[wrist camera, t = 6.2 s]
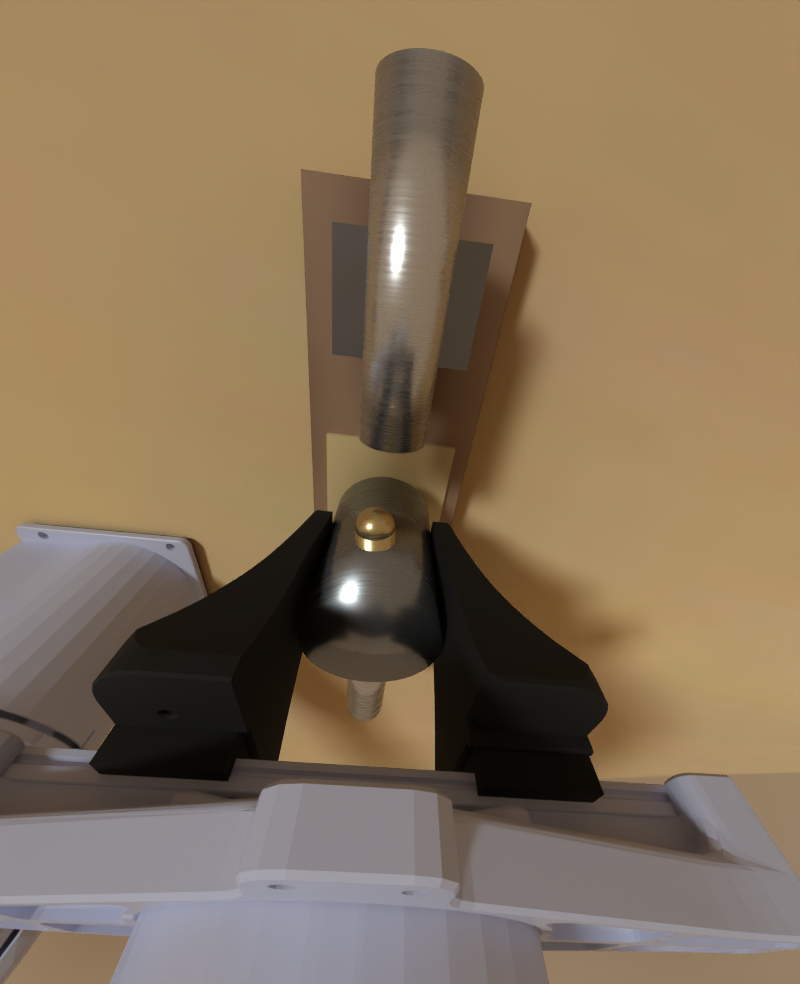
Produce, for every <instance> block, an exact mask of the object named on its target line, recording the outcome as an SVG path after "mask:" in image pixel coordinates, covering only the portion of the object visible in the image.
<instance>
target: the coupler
mask: <svg viewBox="0 0 800 984" xmlns="http://www.w3.org/2000/svg"><path fill="white" fill-rule="evenodd" d="M298 642H299V645H300V648H301V650H302V651H303V653H304V654H305V655H306V657H307V658H308V659H309V660H310V661H311V662H312V663H314V664H315V665H316V666H318V667H319V668H321V669H323V670H325V671H327V672H329V673H331V674H334V675H336V676H339V677H342V678H346V679H351V680H356V681H363V682H386V681H394V680H399V679H403V678H407V677H410V676H412V675H415V674H417V673H419V672H421V671H423V670H424V669H426V668H427V667H429V666H430V665H431V664H432V663H433V662H434V661H435V660H436V658H437V657H438V655H439V653H440V651H441V647H442V636H441V627H440V618H439V608H438V599H437V590H436V580H435V571H434V562H433V553H432V544H431V535H430V524H429V515H428V508H427V505H426V502H425V500H424V498H423V497H422V495H421V494H420V493H419V492H418V491H417V490H416V489H415V488H414V487H412V486H411V485H409V484H408V483H406V482H404V481H401V480H398V479H395V478H390V477H372V478H368V479H364V480H361V481H359V482H357V483H355V484H354V485H352V486H351V487H350V488H348V489H347V490H346V491H345V493H344V494H343V495H342V497H341V499H340V501H339V504H338V508H337V511H336V514H335V517H334V520H333V523H332V526H331V530H330V533H329V536H328V539H327V542H326V545H325V549H324V552H323V555H322V558H321V561H320V564H319V567H318V571H317V574H316V577H315V580H314V583H313V586H312V589H311V593H310V596H309V599H308V602H307V605H306V608H305V611H304V615H303V618H302V621H301V624H300V627H299V630H298Z"/></svg>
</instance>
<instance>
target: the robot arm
mask: <svg viewBox="0 0 800 984" xmlns="http://www.w3.org/2000/svg"><path fill="white" fill-rule="evenodd" d="M332 523H333V512H332V511H322V510H316V511H315V512H314V513H313V514H312V515H311V516H310V517H309V518H308V519H307V520H306V521H305V522H304V523H303V524H302V525H301V526H300V527H299V528H298V529H297V530H296V531H295V532H294V533H293V534H292V535H291V536H290V537H289V538H288V539H287V540H286V541H285V542H284V543H283V544H281V545H280V546H279V547H278V548H277V549H276V550H274V551H273V552H272V553H271V554H270V555H268V556H267V557H266V558H265V559H263V560H262V561H261V562H260V563H258V564H257V565H256V566H254V567H253V568H251V569H250V570H249V571H247V572H246V573H244V574H243V575H241V576H240V577H238V578H237V579H235V580H234V581H232V582H230V583H229V584H227V585H225V586H224V587H222V588H220V589H219V590H217V591H215V592H214V593H212V594H210V595H207V592H206V589H205V585H204V582H203V579H202V576H201V573H200V569H199V566H198V563H197V560H196V557H195V553H194V550H193V547H192V544H191V543H190V541H189V540H187V539H185V538H181V537H170V536H159V535H149V534H138V533H127V532H116V531H106V530H95V529H84V528H73V527H63V526H52V525H41V524H30V523H23V524H21V525H20V526H18V527H16V528H15V532H16V534H17V535H18V537H19V538H20V539H21V542H19V543H18V544H16V545H15V546H13V547H11V548H10V549H8V550H7V551H5V552H4V553H2V554H0V984H3V983H4V982H5V980H6V979H7V978H8V977H9V976H10V975H11V973H12V972H13V970H14V969H15V968H16V967H17V966H18V964H19V963H20V962H21V960H22V959H23V958H24V956H25V955H26V953H27V952H28V951H29V949H30V948H31V946H32V945H33V944H34V942H35V941H36V939H37V937H38V936H39V935H40V933H41V932H42V931H54V932H69V933H85V934H100V935H117V936H130V938H129V940H128V942H127V944H126V947H125V949H124V951H123V954H122V956H121V958H120V961H119V963H118V966H117V968H116V970H115V972H114V975H113V977H112V979H111V982H110V984H549V981H548V976H547V971H546V966H545V962H544V957H543V952H542V951H644V952H647V951H648V952H649V951H651V952H652V951H653V952H708V953H711V952H712V953H742V954H752V953H763V952H771V951H772V952H773V951H782V950H792V949H800V879H799V877H798V876H797V875H796V873H795V872H794V870H793V869H792V867H791V866H790V865H789V863H788V861H787V860H786V858H785V857H784V855H783V854H782V852H781V851H780V849H779V848H778V847H777V845H776V844H775V842H774V841H773V839H772V838H771V836H770V835H769V833H768V832H767V830H766V829H765V827H764V826H763V824H762V823H761V821H760V820H759V819H758V817H757V815H756V814H755V812H754V811H753V810H752V808H751V807H750V805H749V804H748V802H747V801H746V799H745V798H744V796H743V795H742V793H741V792H740V790H739V789H738V787H737V786H736V784H735V783H734V781H733V780H732V779H731V777H729V776H727V775H718V774H702V773H682V774H677V775H675V776H672V777H671V778H669V779H668V780H667V781H665V783H664V785H660V784H643V783H626V782H610V781H599V780H598V777H597V775H596V772H595V770H594V767H593V765H592V762H591V760H590V757H589V756H591V755H592V754H593V749H592V746H591V744H590V741H589V739H588V737H587V735H588V734H589V733H590V732H591V731H592V730H593V729H594V728H595V727H596V726H597V725H598V724H599V723H600V722H601V721H602V720H603V718H604V717H605V715H606V713H607V710H608V703H607V701H606V699H605V697H604V695H603V693H602V691H601V689H600V686H599V684H598V682H597V680H596V678H595V677H594V675H593V673H592V671H591V670H590V668H589V666H588V664H586V663H585V662H584V661H582V660H581V659H579V658H578V657H576V656H575V655H573V654H572V653H571V652H569V651H568V650H566V649H565V648H563V647H562V646H561V645H559V644H558V643H556V642H555V641H554V640H552V639H551V638H550V637H548V636H547V635H546V634H545V633H543V632H542V631H541V630H540V629H538V628H537V627H536V626H535V625H533V624H532V623H531V622H530V621H529V620H528V619H526V618H525V617H524V616H523V615H522V614H521V613H520V612H519V611H518V610H516V609H515V608H514V607H513V606H512V605H511V604H510V603H509V602H508V601H507V600H506V599H505V598H504V597H503V596H502V595H501V594H500V593H499V592H498V591H497V590H496V589H495V588H494V586H493V585H492V584H491V583H490V582H489V581H488V579H487V578H486V577H485V576H484V575H483V573H482V572H481V571H480V570H479V568H478V567H477V566H476V564H475V563H474V561H473V560H472V559H471V557H470V556H469V554H468V553H467V552H466V550H465V549H464V547H463V546H462V544H461V543H460V541H459V539H458V538H457V536H456V535H455V533H454V531H453V530H452V528H451V526H450V525H449V524H448V523H443V522H432V527H431V532H430V535H431V544H432V553H433V562H434V571H435V580H436V590H437V599H438V608H439V618H440V627H441V636H442V647H441V651H440V653H439V655H438V657H437V658H436V660H435V661H434V693H435V771H433V770H416V769H400V768H384V767H368V766H351V765H335V764H319V763H303V762H287V761H278V759H279V754H280V749H281V745H282V740H283V735H284V730H285V725H286V721H287V716H288V712H289V707H290V703H291V698H292V694H293V689H294V685H295V681H296V677H297V672H298V668H299V664H300V660H301V656H302V650H301V648H300V645H299V642H298V630H299V627H300V624H301V621H302V618H303V615H304V611H305V608H306V605H307V602H308V599H309V596H310V593H311V589H312V586H313V583H314V580H315V577H316V574H317V571H318V567H319V564H320V561H321V558H322V555H323V552H324V549H325V545H326V542H327V539H328V536H329V533H330V530H331V526H332ZM114 724H115V725H114ZM113 726H114V727H113ZM112 727H113V728H112ZM111 729H112V730H111ZM110 730H111V731H110ZM109 732H110V733H109ZM108 733H109V734H108ZM107 735H108V736H107ZM106 736H107V737H106ZM105 738H106V739H105ZM104 739H105V740H104ZM103 741H104V742H103ZM102 742H103V743H102ZM101 744H102V745H101ZM100 745H101V746H100ZM99 747H100V748H99ZM98 748H99V749H98Z"/></svg>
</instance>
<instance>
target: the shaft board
mask: <svg viewBox="0 0 800 984" xmlns="http://www.w3.org/2000/svg"><path fill="white" fill-rule="evenodd" d="M370 180H371V179H365V178H358V177H351V176H344V175H338V174H331V173H324V172H317V171H311V170H304V169H301V183H302V209H303V234H304V259H305V285H306V310H307V336H308V361H309V386H310V412H311V437H312V463H313V488H314V512H315V511H316V510H322V511H332V512H333V520H334V517H335V514H336V511H337V508H338V504H339V501H340V499H341V497H342V495H343V494H344V493H345V491H346V490H347V489H348V488H350V487H351V486H352V485H354V484H355V483H357V482H359V481H361V480H364V479H368V478H372V477H390V478H395V479H398V480H401V481H404V482H406V483H408V484H409V485H411V486H412V487H414V488H415V489H416V490H417V491H418V492H419V493H420V494H421V495H422V497H423V498H424V500H425V502H426V505H427V508H428V515H429V524H430V532H431V527H432V522H443V523H448V524H449V525H450V526H451V524H452V520H453V516H454V512H455V508H456V504H457V500H458V496H459V492H460V488H461V484H462V480H463V476H464V472H465V468H466V464H467V460H468V456H469V452H470V448H471V444H472V440H473V436H474V432H475V428H476V424H477V420H478V416H479V412H480V408H481V404H482V400H483V396H484V392H485V388H486V384H487V380H488V376H489V372H490V368H491V364H492V360H493V356H494V352H495V348H496V344H497V340H498V336H499V332H500V328H501V324H502V320H503V316H504V312H505V308H506V304H507V300H508V296H509V292H510V288H511V284H512V280H513V276H514V272H515V268H516V264H517V260H518V256H519V252H520V248H521V244H522V240H523V236H524V232H525V228H526V224H527V220H528V216H529V212H530V208H531V204H532V203H527V202H520V201H513V200H506V199H500V198H493V197H486V196H479V195H473V194H466V200H465V206H464V212H463V218H462V224H461V230H460V237H459V239H460V240H467V241H474V242H481V243H488V244H494V246H493V250H492V255H491V260H490V264H489V269H488V274H487V279H486V283H485V288H484V293H483V297H482V302H481V307H480V311H479V316H478V321H477V326H476V330H475V335H474V340H473V344H472V349H471V354H470V358H469V363H468V368H467V371H464V370H456V369H448V368H439V367H438V369H437V375H436V381H435V387H434V393H433V399H432V406H431V412H430V418H429V424H428V430H427V436H426V442H425V446H424V447H423V448H422V449H420V450H418V451H415V452H411V453H388V452H382V451H378V450H375V449H372V448H370V447H368V446H366V445H364V444H363V443H362V442H361V441H360V439H359V423H360V401H361V379H362V358H357V357H349V356H341V355H333V354H332V222H339V223H346V224H353V225H361V226H368V225H369V203H370Z"/></svg>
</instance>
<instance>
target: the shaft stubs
mask: <svg viewBox="0 0 800 984" xmlns="http://www.w3.org/2000/svg"><path fill="white" fill-rule="evenodd" d="M483 92H484V84H483V80H482V78H481V76H480V75H479V73H478V72H477V71H476V70H475V68H473V67H472V66H471V65H470V64H469V63H467V62H466V61H464V60H462V59H461V58H459V57H457V56H454V55H452V54H449V53H446V52H443V51H439V50H434V49H426V48H411V49H404V50H400V51H396V52H394V53H391V54H389V55H388V56H386V57H384V58H383V59H382V60H381V61H380V62H379V64H378V66H377V68H376V72H375V92H374V114H373V136H372V158H371V180H370V203H369V225H368V226H361V225H353V224H346V223H339V222H332V354H333V355H341V356H349V357H357V358H362V379H361V401H360V423H359V439H360V441H361V442H362V443H363V444H364V445H366V446H368V447H370V448H372V449H375V450H378V451H382V452H388V453H411V452H415V451H418V450H420V449H422V448H423V447H424V446H425V442H426V436H427V430H428V424H429V418H430V412H431V406H432V399H433V393H434V387H435V381H436V375H437V369H438V367H439V368H448V369H456V370H464V371H467V368H468V363H469V358H470V354H471V349H472V344H473V340H474V335H475V330H476V326H477V321H478V316H479V311H480V307H481V302H482V297H483V293H484V288H485V283H486V279H487V274H488V269H489V264H490V260H491V255H492V250H493V246H494V244H488V243H481V242H474V241H467V240H460V239H459V237H460V230H461V224H462V218H463V212H464V206H465V200H466V194H467V188H468V182H469V176H470V170H471V164H472V158H473V152H474V146H475V140H476V134H477V128H478V122H479V116H480V110H481V104H482V98H483ZM385 683H386V682H363V681H356V680H351V679H348V688H347V708H348V711H349V713H350V714H351V716H352V717H353V718H355V719H356V720H359V721H369V720H371V719H373V718H374V717H376V716H377V714H378V713H379V712H380V710H381V707H382V701H383V695H384V689H385Z"/></svg>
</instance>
